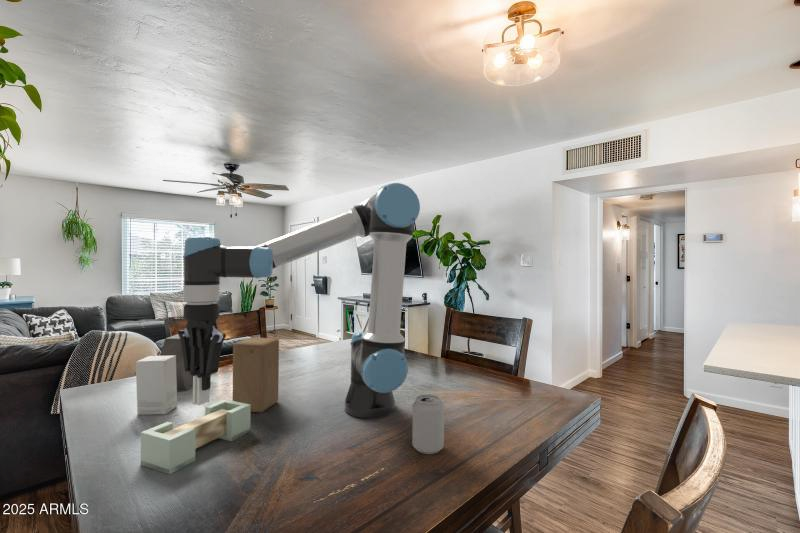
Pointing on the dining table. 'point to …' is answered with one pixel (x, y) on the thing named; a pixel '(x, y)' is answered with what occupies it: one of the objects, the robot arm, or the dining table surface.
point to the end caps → (189, 438)
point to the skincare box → (156, 385)
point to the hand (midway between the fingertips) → (200, 402)
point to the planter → (177, 362)
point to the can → (428, 424)
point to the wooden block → (256, 372)
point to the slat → (205, 427)
